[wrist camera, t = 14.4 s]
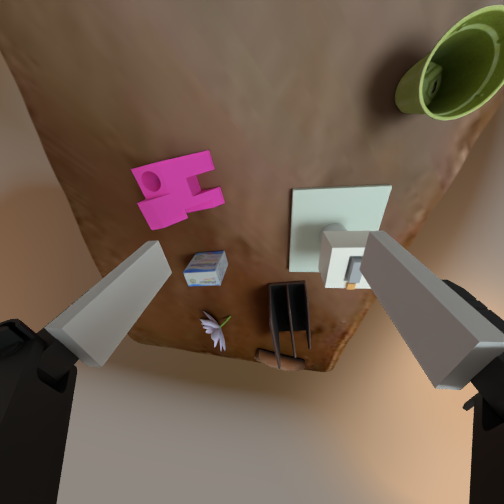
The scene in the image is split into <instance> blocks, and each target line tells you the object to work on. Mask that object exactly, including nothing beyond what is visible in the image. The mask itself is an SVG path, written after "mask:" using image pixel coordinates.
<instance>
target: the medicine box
mask: <svg viewBox="0 0 504 504" xmlns="http://www.w3.org/2000/svg"><path fill="white" fill-rule="evenodd" d="M227 266H228V262H227V258H226V254H225V251H215V252H202V253H196V254H195V256H194V257H193V259H192V260H191V261H190V263H189V264H188V266H187V267H186V269H185V270H184V272H183V273H184V276H185V278H186V281H187V283H188V286H210V285H221V282H222V280H223V277H224V274H225V271H226V269H227Z"/></svg>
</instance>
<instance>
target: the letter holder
mask: <svg viewBox="0 0 504 504" xmlns="http://www.w3.org/2000/svg"><path fill="white" fill-rule="evenodd" d="M268 290H269V300H268V301H269V325H270V330H271V335H272V341H273V346H274V351H275V356H276V360H277V365H278V368H279V369H281V361H280V346H279V331H290V333H291V340H292V348H293V354H294V358H296V353H295V344H294V335H293V331H299V330H306V334H307V341H308V349H311V338H310V315H309V301H308V296H307V290H306V284H305V281H293V282H280V283H269V284H268Z"/></svg>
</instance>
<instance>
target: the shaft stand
mask: <svg viewBox="0 0 504 504" xmlns="http://www.w3.org/2000/svg"><path fill="white" fill-rule="evenodd" d="M391 189H392V186H391V185H389V184H382V185H360V186H338V187H316V188H294V189H293V190H292V211H291V233H290V254H289V272H319V269H318V263H319V257H320V250H321V243H322V236H323V231H378V230H379V227H380V224H381V220H382V217H383V214H384V211H385V208H386V204H387V201H388V198H389V195H390V192H391ZM361 261H362V257H361V256H350V257H349V262H348V266H347V270H346V274H345V277H346V279H347V280H348V282H349V283H360V279H361V276H362V273H361V272H360V270H359V269H360V265H361Z"/></svg>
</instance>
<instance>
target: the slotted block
mask: <svg viewBox="0 0 504 504" xmlns="http://www.w3.org/2000/svg"><path fill="white" fill-rule="evenodd" d="M368 235H369V231H323V236H322V243H321V250H320V257H319V263H318V269H319V272H320V275H321V278H322V280H323V283H324V286H325V288H346V289H353V290H354V289H355V288H370V289H371V287H370V286H369V284H368V283H367V281H366V279H365V278H364V276H363V275H362V276H361V279H360V283H349V282H348V280H347V279H346V277H345V274H346V270H347V266H348V262H349V257H350V256H361V257H363V254H364V250H365V246H366V242H367V239H368Z"/></svg>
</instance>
